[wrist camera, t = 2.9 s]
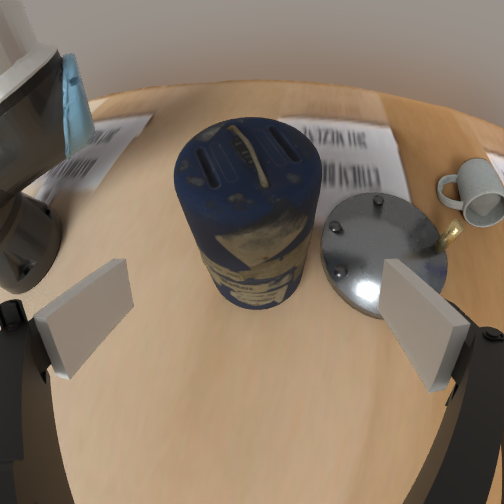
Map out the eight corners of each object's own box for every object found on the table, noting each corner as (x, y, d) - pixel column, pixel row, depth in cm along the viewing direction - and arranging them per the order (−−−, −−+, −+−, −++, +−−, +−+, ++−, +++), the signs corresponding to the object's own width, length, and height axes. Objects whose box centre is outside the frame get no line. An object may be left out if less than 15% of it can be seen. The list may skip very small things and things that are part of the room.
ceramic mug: (481, 191, 36) (502, 160, 29) (492, 232, 32) (518, 202, 25) (430, 175, 37) (448, 139, 31) (438, 217, 34) (461, 181, 27)
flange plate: (325, 324, 28) (339, 305, 23) (314, 198, 36) (320, 161, 30) (452, 314, 27) (483, 294, 22) (423, 202, 35) (442, 171, 29)
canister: (218, 319, 29) (156, 220, 14) (211, 240, 34) (168, 111, 18) (310, 305, 29) (351, 192, 14) (292, 228, 34) (303, 93, 18)
